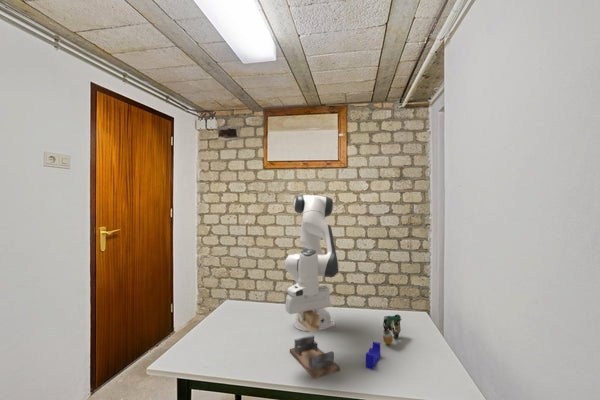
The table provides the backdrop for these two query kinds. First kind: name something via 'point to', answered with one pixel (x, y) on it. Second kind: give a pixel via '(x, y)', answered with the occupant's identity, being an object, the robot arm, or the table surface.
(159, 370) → the table surface
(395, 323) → the spray gun
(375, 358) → the cable clip
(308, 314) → the top rail
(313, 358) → the wooden clamp fixture
